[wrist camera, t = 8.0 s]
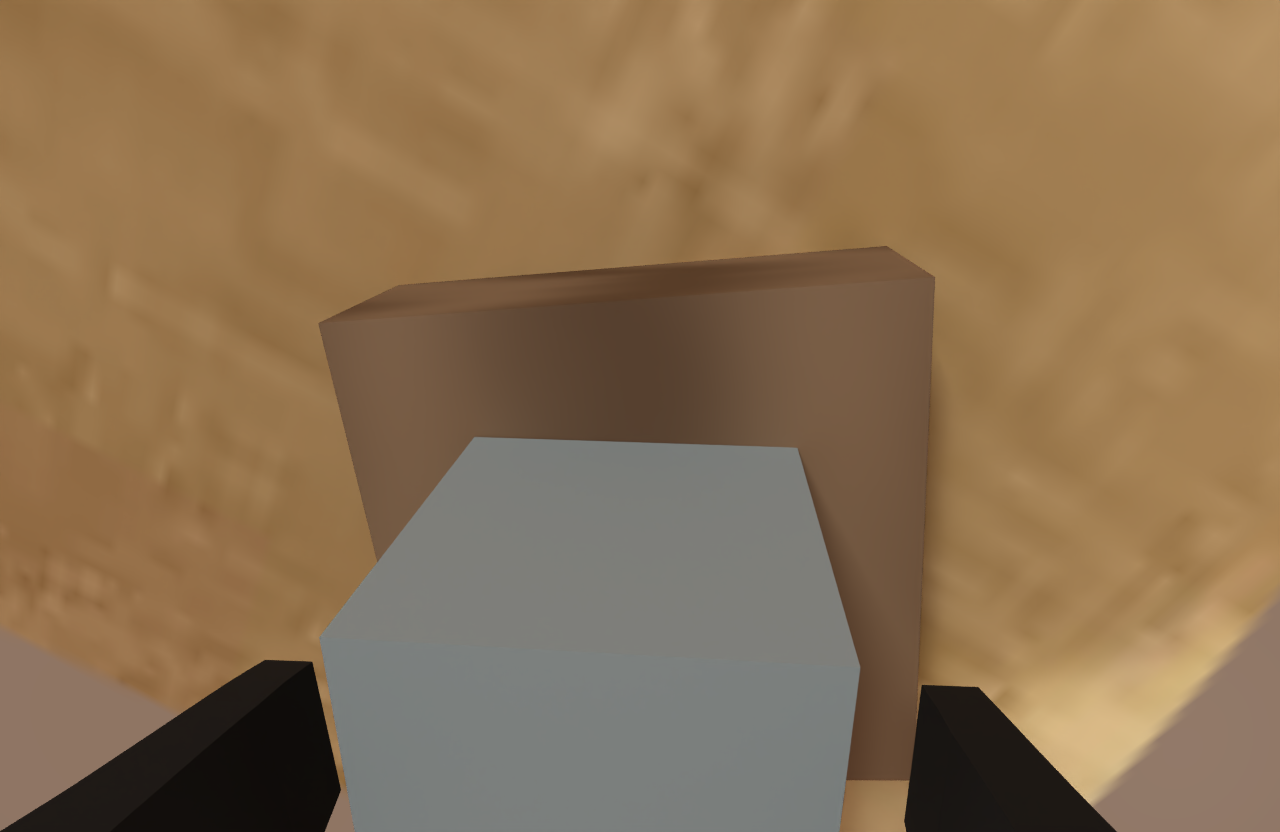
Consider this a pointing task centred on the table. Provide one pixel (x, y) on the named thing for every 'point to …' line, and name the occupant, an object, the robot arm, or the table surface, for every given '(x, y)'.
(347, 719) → the grey cube
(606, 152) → the table surface
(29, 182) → the table surface
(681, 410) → the walnut block
